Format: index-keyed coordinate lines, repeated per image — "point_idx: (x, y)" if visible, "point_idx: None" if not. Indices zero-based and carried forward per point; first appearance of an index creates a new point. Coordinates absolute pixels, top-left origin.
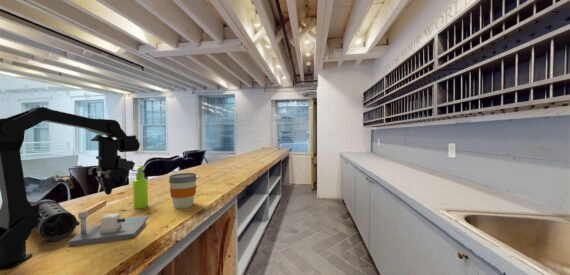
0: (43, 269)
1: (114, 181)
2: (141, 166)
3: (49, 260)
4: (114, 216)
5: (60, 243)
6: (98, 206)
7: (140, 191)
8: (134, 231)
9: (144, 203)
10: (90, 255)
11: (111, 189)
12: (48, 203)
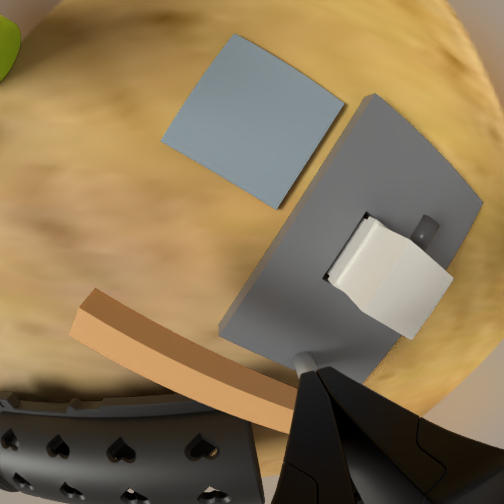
0: (439, 399)
1: (493, 453)
2: None
3: (405, 402)
4: (439, 279)
5: None
6: (206, 364)
7: None
8: (470, 193)
9: (8, 28)
10: (469, 324)
11: (372, 397)
12: (15, 481)
